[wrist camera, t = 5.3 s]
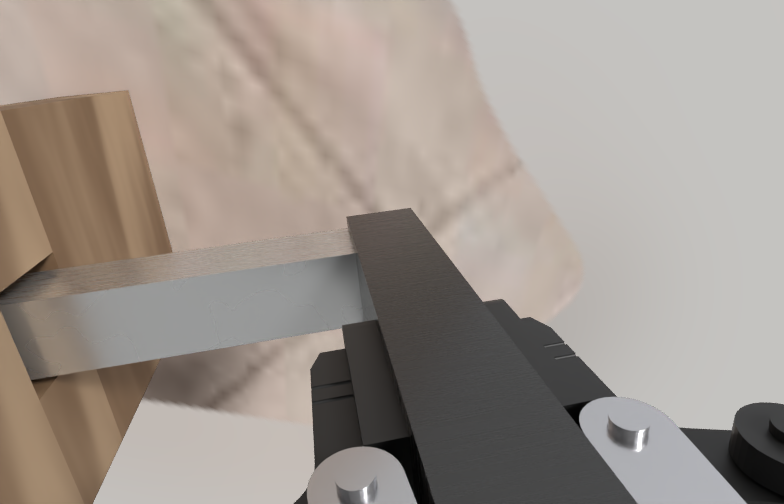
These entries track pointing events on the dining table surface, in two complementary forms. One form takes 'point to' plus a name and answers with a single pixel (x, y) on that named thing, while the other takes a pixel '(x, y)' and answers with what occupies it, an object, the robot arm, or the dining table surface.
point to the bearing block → (62, 250)
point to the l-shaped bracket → (328, 312)
